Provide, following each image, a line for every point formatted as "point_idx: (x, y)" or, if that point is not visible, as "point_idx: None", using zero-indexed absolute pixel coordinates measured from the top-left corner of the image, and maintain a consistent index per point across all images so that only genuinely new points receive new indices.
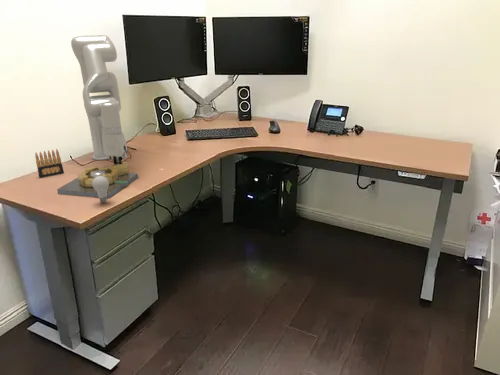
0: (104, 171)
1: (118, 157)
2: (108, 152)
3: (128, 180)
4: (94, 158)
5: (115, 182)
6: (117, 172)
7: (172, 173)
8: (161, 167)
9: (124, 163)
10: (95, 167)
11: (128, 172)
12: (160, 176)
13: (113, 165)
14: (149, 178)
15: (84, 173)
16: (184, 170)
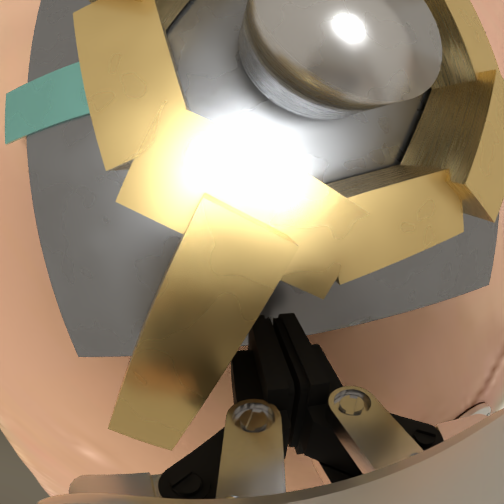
0: (286, 40)
1: (215, 487)
2: (501, 490)
3: (33, 182)
4: (481, 406)
5: None
6: (106, 160)
7: (7, 411)
8: (117, 470)
9: (119, 399)
10: (484, 172)
11: (137, 339)
12: (7, 373)
13: (230, 253)
14: (21, 335)
15: (475, 45)
16: (9, 438)
